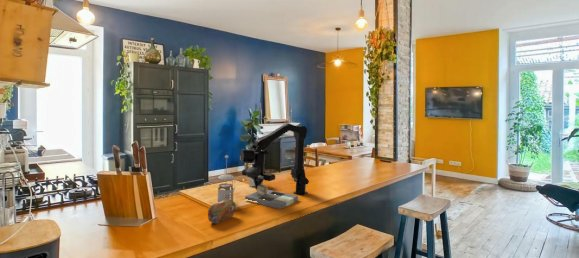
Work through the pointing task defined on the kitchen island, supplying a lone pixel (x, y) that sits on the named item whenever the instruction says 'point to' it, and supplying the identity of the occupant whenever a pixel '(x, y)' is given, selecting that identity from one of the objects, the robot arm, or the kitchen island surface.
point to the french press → (225, 186)
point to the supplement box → (251, 182)
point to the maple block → (262, 189)
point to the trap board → (273, 199)
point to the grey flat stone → (221, 211)
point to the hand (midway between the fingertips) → (257, 189)
